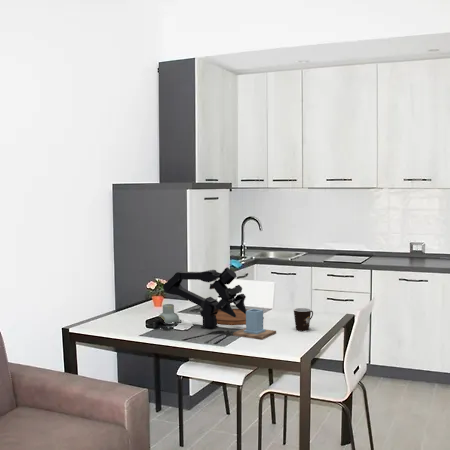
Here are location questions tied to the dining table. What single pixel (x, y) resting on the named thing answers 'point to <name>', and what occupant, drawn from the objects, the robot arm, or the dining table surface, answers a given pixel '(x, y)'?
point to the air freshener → (169, 314)
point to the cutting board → (231, 318)
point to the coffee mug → (302, 318)
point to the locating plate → (258, 336)
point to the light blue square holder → (254, 321)
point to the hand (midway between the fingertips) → (240, 315)
